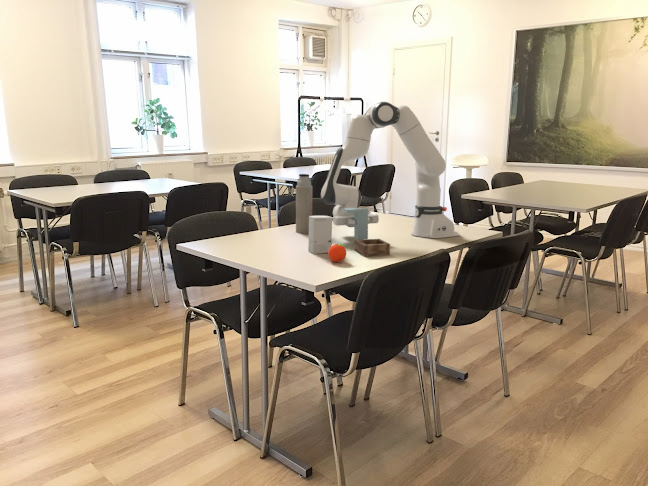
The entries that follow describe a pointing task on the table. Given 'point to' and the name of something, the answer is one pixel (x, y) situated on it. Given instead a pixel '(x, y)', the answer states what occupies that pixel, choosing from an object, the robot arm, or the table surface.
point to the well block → (372, 247)
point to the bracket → (359, 221)
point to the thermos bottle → (303, 203)
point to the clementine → (337, 252)
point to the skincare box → (320, 234)
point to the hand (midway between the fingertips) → (361, 222)
